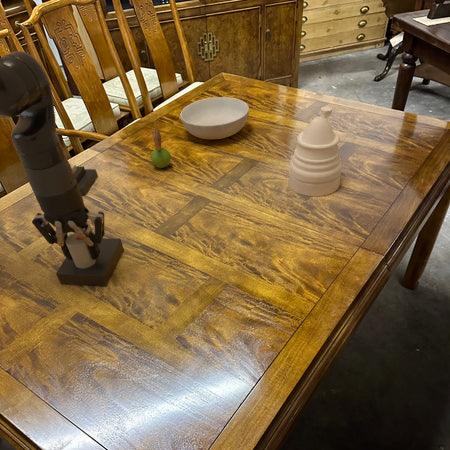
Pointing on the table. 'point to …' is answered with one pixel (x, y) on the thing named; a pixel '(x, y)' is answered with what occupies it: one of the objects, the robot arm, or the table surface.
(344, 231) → the table surface
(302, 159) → the honey pot
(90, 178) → the key block
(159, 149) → the green ball with handle
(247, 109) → the serving bowl
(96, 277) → the panel
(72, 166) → the key
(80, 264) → the volume knob
